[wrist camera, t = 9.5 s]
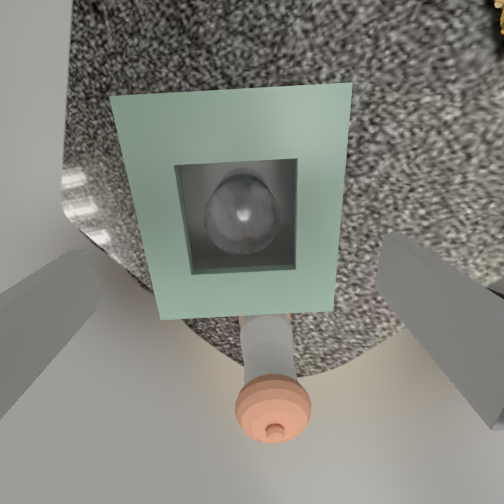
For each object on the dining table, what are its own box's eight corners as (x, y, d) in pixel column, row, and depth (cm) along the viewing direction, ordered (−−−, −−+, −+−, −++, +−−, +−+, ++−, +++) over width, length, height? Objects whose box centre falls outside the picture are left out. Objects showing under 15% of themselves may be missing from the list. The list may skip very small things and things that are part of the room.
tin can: (216, 167, 31) (200, 181, 19) (268, 166, 31) (281, 179, 20) (219, 218, 33) (206, 256, 22) (267, 217, 33) (279, 254, 22)
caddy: (166, 115, 29) (109, 96, 17) (309, 107, 29) (352, 82, 17) (189, 260, 36) (160, 319, 24) (304, 254, 36) (333, 311, 24)
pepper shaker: (243, 281, 37) (239, 404, 20) (292, 288, 38) (330, 414, 20) (235, 321, 40) (226, 462, 23) (281, 327, 41) (307, 468, 23)
